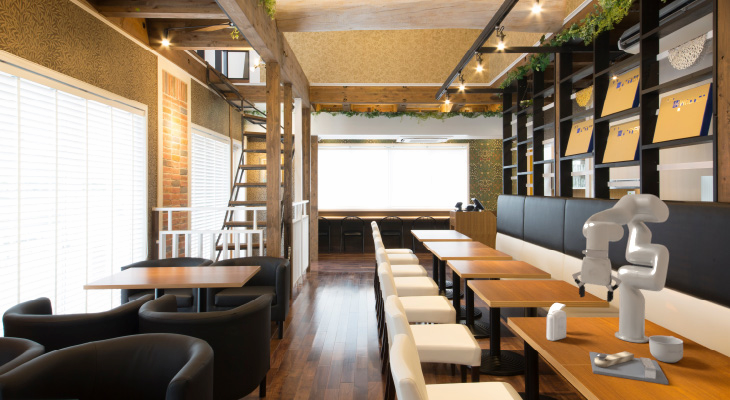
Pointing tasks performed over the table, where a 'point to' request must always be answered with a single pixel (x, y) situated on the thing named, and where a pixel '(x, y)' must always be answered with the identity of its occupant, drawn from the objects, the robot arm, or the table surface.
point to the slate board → (628, 370)
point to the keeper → (648, 368)
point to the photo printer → (556, 325)
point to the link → (612, 359)
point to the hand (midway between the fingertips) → (595, 299)
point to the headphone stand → (556, 307)
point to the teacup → (666, 348)
